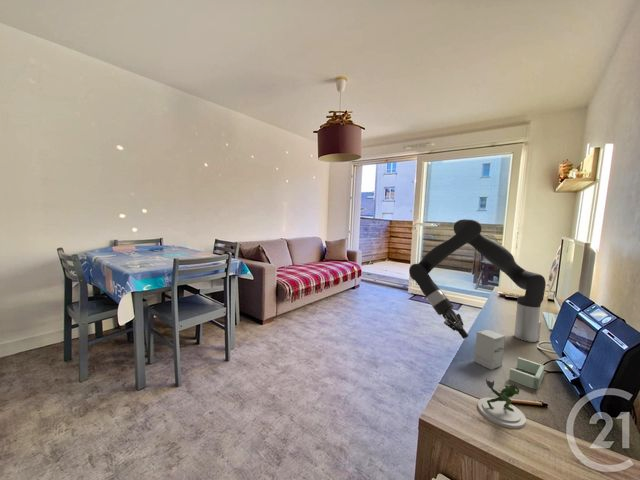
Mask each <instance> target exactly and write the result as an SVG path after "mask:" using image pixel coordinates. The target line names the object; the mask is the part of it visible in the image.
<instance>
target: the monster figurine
mask: <svg viewBox="0 0 640 480" xmlns="http://www.w3.org/2000/svg"><path fill="white" fill-rule="evenodd" d="M485 382H486V385H487V387H488V388H489V389H490V390H491V391H492V392H493V394H495V395H496V396H497V397H482V398H480V399H479V400H478V402H477V409H478V411H479V412H480V413H481V415H483V416H484V417H485V418H486V419H487V420H489V421H491V422H493V423H494V424H497V425H499V426H502V427H506V428H510V429H520V428H524V427H525V425H526V423H527V418H526V415H525V414H524V413H523V412H522V410H520V409H519V408H518V407H516V406H515V405H513V401H512V400H511V398H512V397H514V396H516V395H519V394H520V389H521V387H520V388H519V387H518V386H517V384H513V383H512V384H510V385H507V384H504V387H502V388H501V387H500V389H502V390H500V389H498V391H499V392H498V391H497V390H496V389H495V388H494V386H495V381H494V379H493V380H492V381H490V380H488V379H487V378H485Z"/></svg>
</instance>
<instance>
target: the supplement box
mask: <svg viewBox="0 0 640 480" xmlns="http://www.w3.org/2000/svg"><path fill="white" fill-rule="evenodd" d="M475 336H476V338H475V348H474V349H475V350H474V357H473V358H474V359H473V362H475V363H477V364H478V363H479V365H480V364H481V365H480V366H482V367H485V368H487V369H489V370H491V371H493V370H494V369H496V368H500V367H503V360H504V353H505V352H504V350H505V338H506V336H505V335H504V334H501V333H499V332H495V331H492V330H490V329H484V330H479V331H476V335H475Z"/></svg>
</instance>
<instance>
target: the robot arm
mask: <svg viewBox="0 0 640 480" xmlns="http://www.w3.org/2000/svg"><path fill="white" fill-rule="evenodd" d="M482 228H483V227H482V225H481V223H480V222H479V221H478V220H475V219H465V218H463V219H459V220H457V221H456V222H455V223H454V224H453V233H454V234H455V235H453V236H452V237H450V238H449V239H447V240H445V241H443V242H442V243H440V244H439V245H437V246H435V247H433V248H432V249H431V250H430V251H429V252H428V253H426V254H425V255H424V256H423V257H422V259H421V261H420V262H418V263H413V264H412V265H410V267H409V268H408V269H409V270H408V271H409V273H408V274H409V277H410V278H411V279H412V280H413V281H415V283H416V284H417V285H418V287H419V288H420V291H421V293H422V294H423V295H424V296H425V297H426V299H427V301H428V302H429V304H430V305H431V307H432V308H433V310H434V311H435V313H436V314H437V315H438V316H441V315H442V317H443V319H444V321H443V324H444V325H446V326H447V327H448V328H450V329H451V330H452V331H454V332H455V331H456V332H457V333H458V334H459V335H460V337H461V338H462V339H463V340H465V339H467V338H468V337H469V333H467V331H466V330H465V329H464V326H465V325H464V323H463V319H462V316H461V314H460V313H456V312H455V311H454V310H453V308H454V305H453V304H452V302H451V300H449V299H448V297H447V295H446V294H445V293H444V292H443V291H442V290H441V289H440V288H439V287H438V285H437V284H436V283H435V282H434V280H433V279H432V278H431V275H430V272H431V271H432V270H433V269H434V268H436V267H437V266H438V265H439V264H441V263H442V262H443V261H444V260H445V259H447V257H449V256H450V255H452V254H453V253H454V252H456V251H457V250H459V249H460V248H462V247H463V246H465V245H466V244H469V245H470V246H471V247H473V248H474V250H476V251H477V252H478V253H479V254H481V255H482V256H483V257H484V258H485V259H486V260H487V261H488V262H490V263H491V264H492V265H493V266H495V268H497V269H499V270H500V271H501V272H502V273H504V274H505V275H506V276H508V278H509V279H510V280H511V281H512V282H513V283H514V284H515V285H516V286H517V287H519V288H520V289H522V290H525V293H524V295H521V296H519V297H517V301H516V311H515V313H516V314H515V323H514V334H513V336H514V338H516V339H518V340H520V339H521V340H520V341H523V340H524V342H529V343H535V342H536V343H537V342H540V337H541V329H542V327H541V326H542V322H541V321H540V315H541V305H542V302H543V301H544V297H545V292H546V284H547V283H546V279H545V277H544V276H543V275H542V274H540V273H537V272H534V271H533V272H531V271H529V270H526V269H525V268H523V267H522V266H520V265H519V264H518V263H517V262H516V260H515V257H514V256H513V254H512V253H511V252H510V251H509V250H508V249H507V248H505V247H504V245H502V244H500V243H499V242H497V241H495V240H493V239H491V238H490V237H487V236H485V235H483V234H482Z"/></svg>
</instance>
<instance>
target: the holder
mask: <svg viewBox="0 0 640 480" xmlns="http://www.w3.org/2000/svg"><path fill="white" fill-rule="evenodd" d="M545 367H546V365H544V364H541V363H538V362H535V361H533V360H532V361H531V360H528V359H525V358H522V357H520V356H518V357H517V363H516V369H515V368H512V367H511V368H509V377H508V379H509V380H510V381H512V382H515V383H517V384H520V385H523V386H525V387H528V388H531V389H532V390H533V389H534V390H536V391H538V390H539V388H540V386H541V384H542V381H543V378H544V376H545V371H546V370H545ZM518 369H519V370H518ZM523 371H525V372H523ZM527 372H528V373H527ZM530 373H531V374H530ZM532 374H534V375H532Z"/></svg>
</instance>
